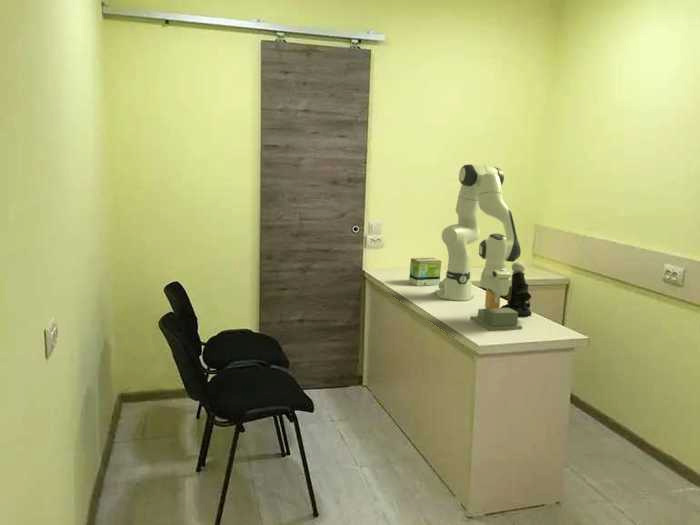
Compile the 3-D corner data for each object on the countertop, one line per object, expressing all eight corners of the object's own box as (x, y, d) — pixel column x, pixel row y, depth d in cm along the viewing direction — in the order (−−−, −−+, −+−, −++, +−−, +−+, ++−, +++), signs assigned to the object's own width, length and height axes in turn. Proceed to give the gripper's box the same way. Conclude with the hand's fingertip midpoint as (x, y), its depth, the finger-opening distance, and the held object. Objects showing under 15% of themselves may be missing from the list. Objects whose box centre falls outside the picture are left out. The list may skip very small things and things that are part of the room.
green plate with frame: (470, 318, 268) (471, 303, 267) (501, 317, 272) (503, 302, 271) (488, 330, 251) (489, 314, 250) (522, 328, 255) (523, 312, 254)
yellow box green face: (484, 307, 266) (486, 288, 265) (494, 307, 268) (496, 287, 266) (489, 309, 263) (490, 290, 261) (499, 309, 264) (500, 289, 262)
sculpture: (526, 309, 289) (530, 259, 284) (540, 323, 266) (546, 268, 261) (495, 308, 289) (499, 258, 285) (507, 321, 266) (511, 267, 261)
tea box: (417, 286, 332) (419, 260, 329) (408, 282, 341) (410, 257, 338) (440, 285, 338) (441, 259, 335) (430, 281, 347) (432, 256, 344)
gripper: (477, 266, 271) (475, 295, 274) (499, 275, 252) (497, 306, 254) (490, 266, 273) (488, 295, 275) (512, 275, 253) (510, 306, 256)
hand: (492, 300), depth 264 cm, fingers closed on yellow box green face, 4 cm apart
